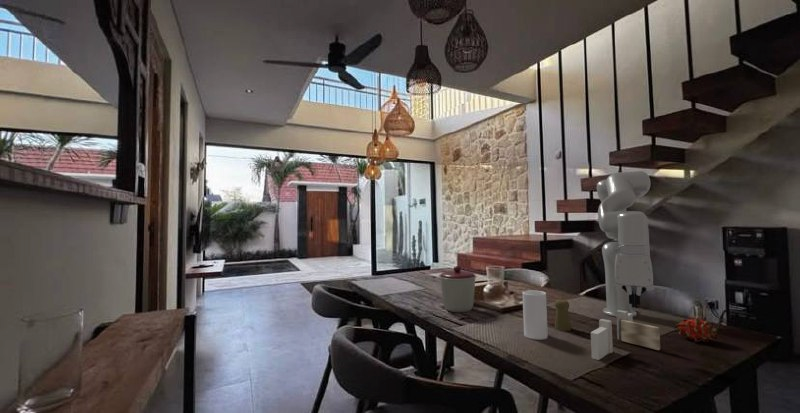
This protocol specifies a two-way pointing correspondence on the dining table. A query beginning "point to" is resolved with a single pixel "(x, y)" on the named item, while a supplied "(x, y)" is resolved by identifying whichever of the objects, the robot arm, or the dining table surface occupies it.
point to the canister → (458, 289)
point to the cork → (562, 315)
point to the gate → (639, 334)
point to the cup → (535, 314)
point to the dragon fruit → (697, 329)
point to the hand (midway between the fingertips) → (634, 306)
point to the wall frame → (606, 335)
